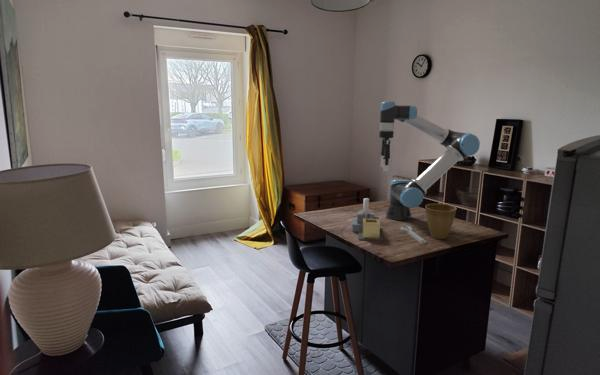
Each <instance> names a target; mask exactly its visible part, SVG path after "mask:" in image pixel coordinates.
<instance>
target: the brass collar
mask: <svg viewBox="0 0 600 375" xmlns="http://www.w3.org/2000/svg"><path fill="white" fill-rule="evenodd" d="M379 219H380V218H379ZM379 219H365V218H363V227H362V235H363V238H371V239H379V234H380V233H381V223H380V222H381V221H380V220H379Z"/></svg>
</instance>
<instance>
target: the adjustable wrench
mask: <svg viewBox="0 0 600 375" xmlns="http://www.w3.org/2000/svg"><path fill="white" fill-rule="evenodd" d="M400 231H401V232H404V233H407V234H409V235H410V236H411V237H412V238H414V239H415V240H416V241H417V242H419V243H420V244H423V245H425V244H427V240H425V239H424V238H423V237H421V236H420V235H419V234H417V233H416V232H414V231H413V227H412V226H408V225H404V227H403V226H400Z"/></svg>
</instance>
